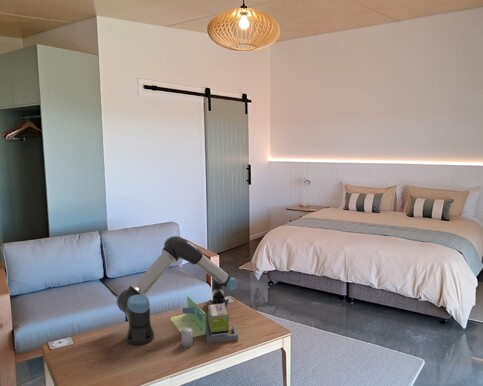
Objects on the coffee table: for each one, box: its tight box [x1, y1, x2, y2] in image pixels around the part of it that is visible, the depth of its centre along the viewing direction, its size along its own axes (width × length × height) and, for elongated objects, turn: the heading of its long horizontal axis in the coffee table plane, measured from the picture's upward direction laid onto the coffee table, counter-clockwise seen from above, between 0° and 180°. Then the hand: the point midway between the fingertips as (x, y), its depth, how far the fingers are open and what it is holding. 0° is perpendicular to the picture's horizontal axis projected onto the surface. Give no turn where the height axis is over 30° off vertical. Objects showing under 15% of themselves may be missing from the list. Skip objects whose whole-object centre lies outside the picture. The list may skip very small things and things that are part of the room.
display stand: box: [169, 294, 207, 338], centre depth 234 cm, size 30×12×12 cm, turn 27°
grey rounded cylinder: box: [180, 328, 194, 348], centre depth 213 cm, size 6×6×8 cm
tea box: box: [207, 302, 230, 336], centre depth 223 cm, size 15×10×15 cm
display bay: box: [205, 323, 239, 344], centre depth 222 cm, size 17×14×3 cm
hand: (220, 312), depth 234 cm, fingers closed
